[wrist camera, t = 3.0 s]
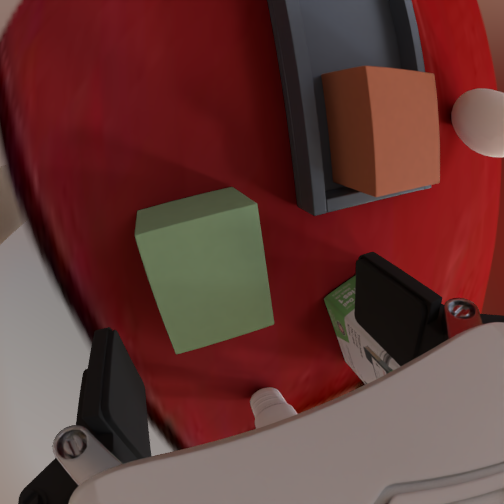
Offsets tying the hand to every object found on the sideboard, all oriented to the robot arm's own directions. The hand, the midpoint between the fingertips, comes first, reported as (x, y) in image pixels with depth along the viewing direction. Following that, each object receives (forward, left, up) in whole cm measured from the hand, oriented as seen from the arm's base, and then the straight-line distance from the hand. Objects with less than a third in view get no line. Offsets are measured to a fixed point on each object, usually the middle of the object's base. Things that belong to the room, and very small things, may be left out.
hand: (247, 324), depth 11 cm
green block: (-1, 0, -7) cm, 7 cm away
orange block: (+10, +6, -7) cm, 14 cm away
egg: (+21, +6, -7) cm, 23 cm away
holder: (+10, +10, -7) cm, 16 cm away
